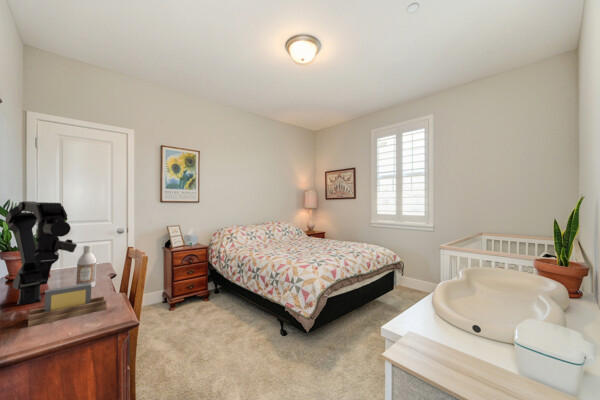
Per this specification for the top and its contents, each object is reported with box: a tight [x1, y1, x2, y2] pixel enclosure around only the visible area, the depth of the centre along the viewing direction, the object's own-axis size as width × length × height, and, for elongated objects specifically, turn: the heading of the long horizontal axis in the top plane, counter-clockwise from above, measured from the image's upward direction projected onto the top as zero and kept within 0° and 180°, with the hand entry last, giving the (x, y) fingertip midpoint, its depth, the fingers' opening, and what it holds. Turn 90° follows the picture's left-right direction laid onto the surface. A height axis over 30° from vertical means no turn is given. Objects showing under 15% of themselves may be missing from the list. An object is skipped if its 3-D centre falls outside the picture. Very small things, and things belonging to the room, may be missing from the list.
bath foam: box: [75, 244, 97, 289], centre depth 119 cm, size 7×7×20 cm
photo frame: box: [43, 283, 92, 312], centre depth 89 cm, size 12×3×8 cm, turn 136°
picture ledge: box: [27, 295, 107, 328], centre depth 89 cm, size 20×8×3 cm, turn 136°
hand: (45, 275), depth 95 cm, fingers open, 9 cm apart
